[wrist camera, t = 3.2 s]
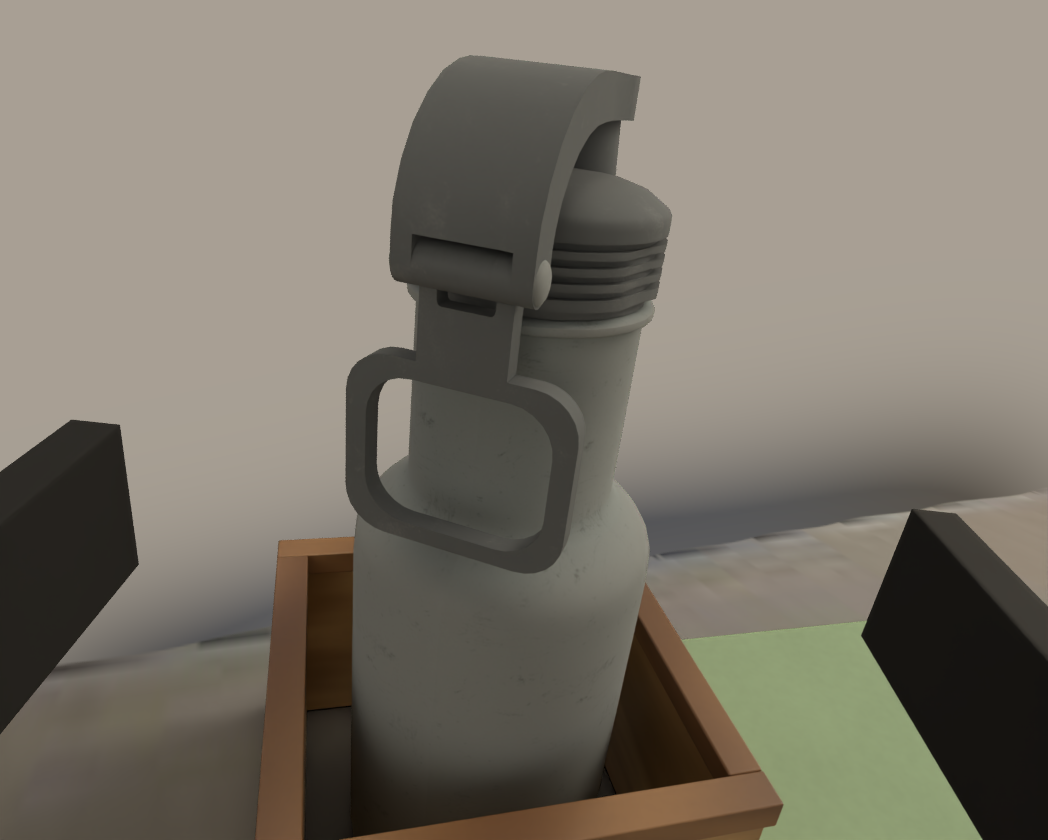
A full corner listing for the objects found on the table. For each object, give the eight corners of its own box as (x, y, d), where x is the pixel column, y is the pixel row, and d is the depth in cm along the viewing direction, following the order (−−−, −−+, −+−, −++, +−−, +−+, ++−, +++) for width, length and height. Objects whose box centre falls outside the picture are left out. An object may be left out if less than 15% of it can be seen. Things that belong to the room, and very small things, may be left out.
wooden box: (582, 664, 38) (609, 522, 35) (717, 976, 25) (785, 804, 22) (284, 697, 34) (278, 539, 30) (265, 1087, 21) (249, 899, 17)
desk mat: (887, 625, 44) (890, 617, 44) (1146, 885, 30) (1153, 876, 30) (613, 654, 39) (615, 645, 39) (774, 980, 25) (779, 970, 25)
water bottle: (542, 999, 24) (739, 78, 12) (292, 882, 27) (256, 24, 15) (611, 761, 33) (764, 93, 21) (419, 690, 36) (459, 58, 24)
